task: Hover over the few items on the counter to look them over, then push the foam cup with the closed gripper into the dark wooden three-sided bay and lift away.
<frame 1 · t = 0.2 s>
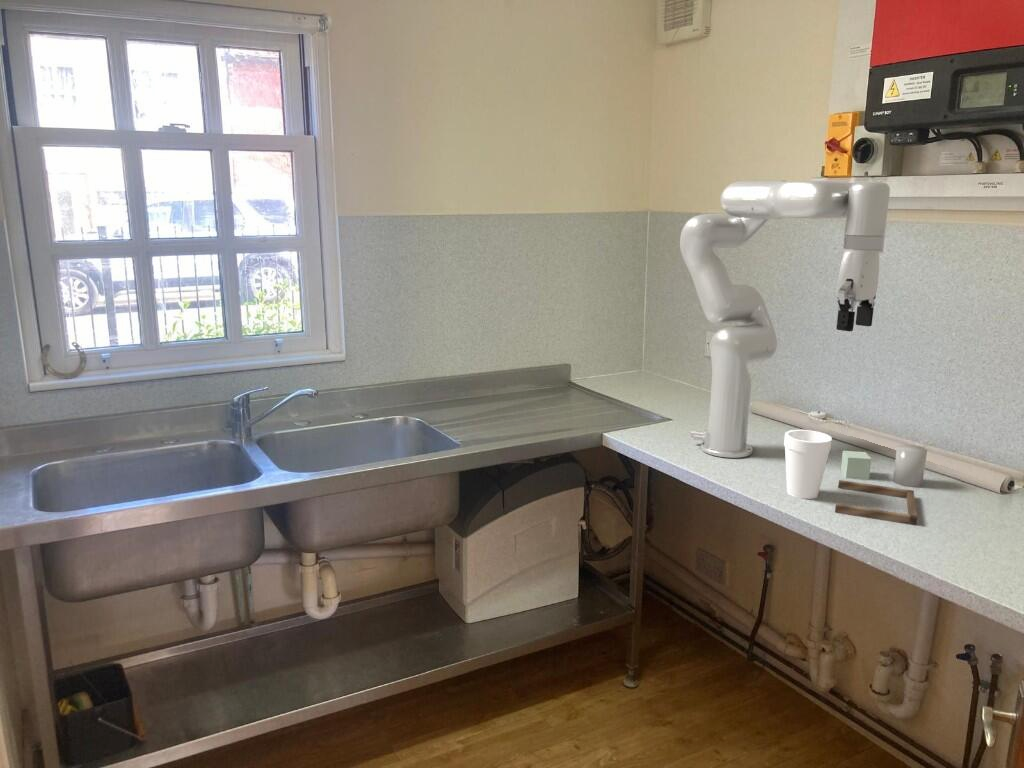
hand: (854, 328, 162), 36 cm above the worktop, tool pointing down, fingers open, 9 cm apart
foam cup: (802, 494, 169), on the worktop
dark wooden bay: (873, 504, 163), on the worktop
sage painted block: (854, 475, 181), on the worktop
grey ceramic jar: (907, 482, 176), on the worktop
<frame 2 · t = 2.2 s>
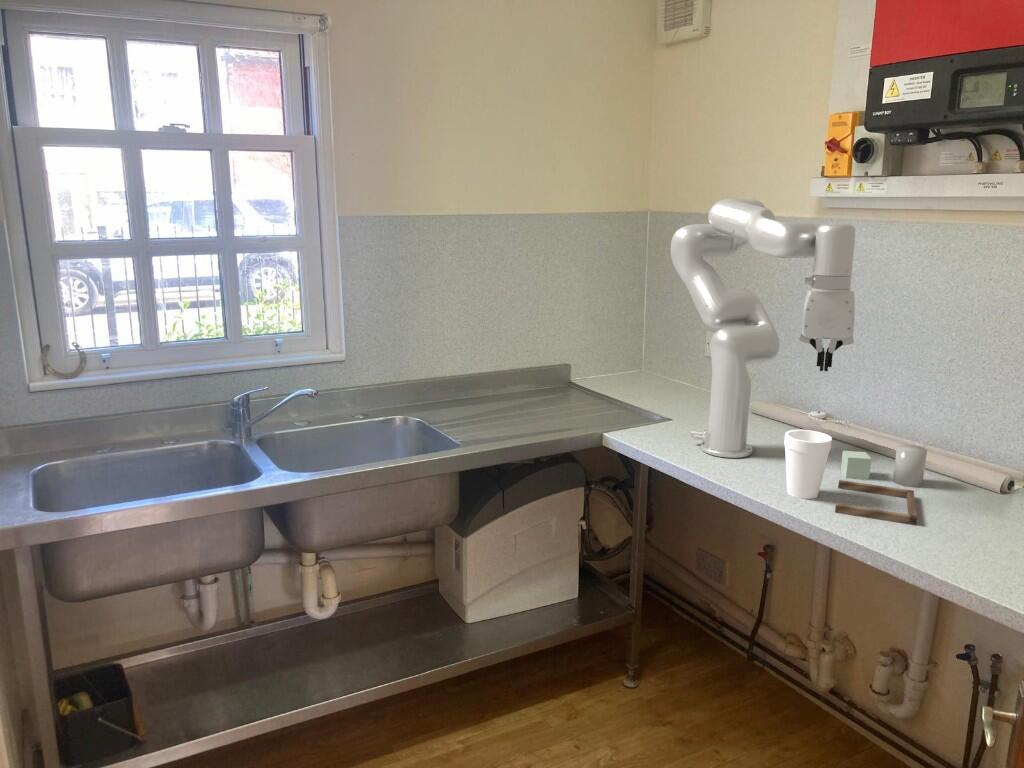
hand: (823, 370, 167), 26 cm above the worktop, tool pointing down, fingers closed
nothing on the worktop moved.
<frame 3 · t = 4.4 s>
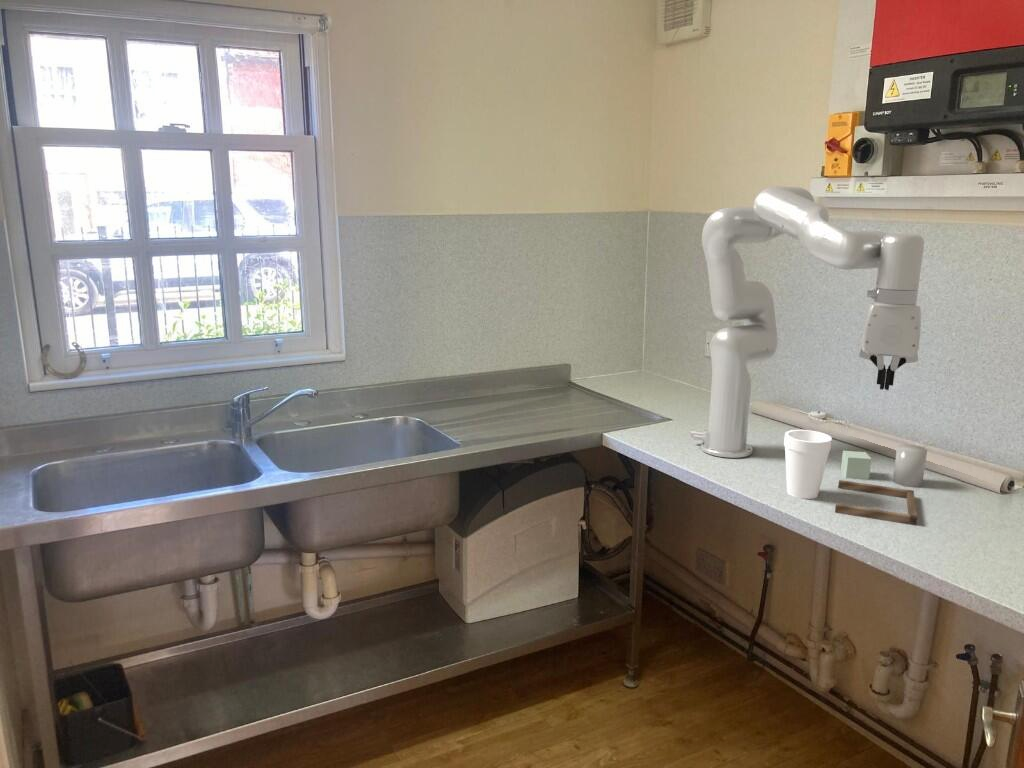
hand: (884, 388, 158), 25 cm above the worktop, tool pointing down, fingers closed
nothing on the worktop moved.
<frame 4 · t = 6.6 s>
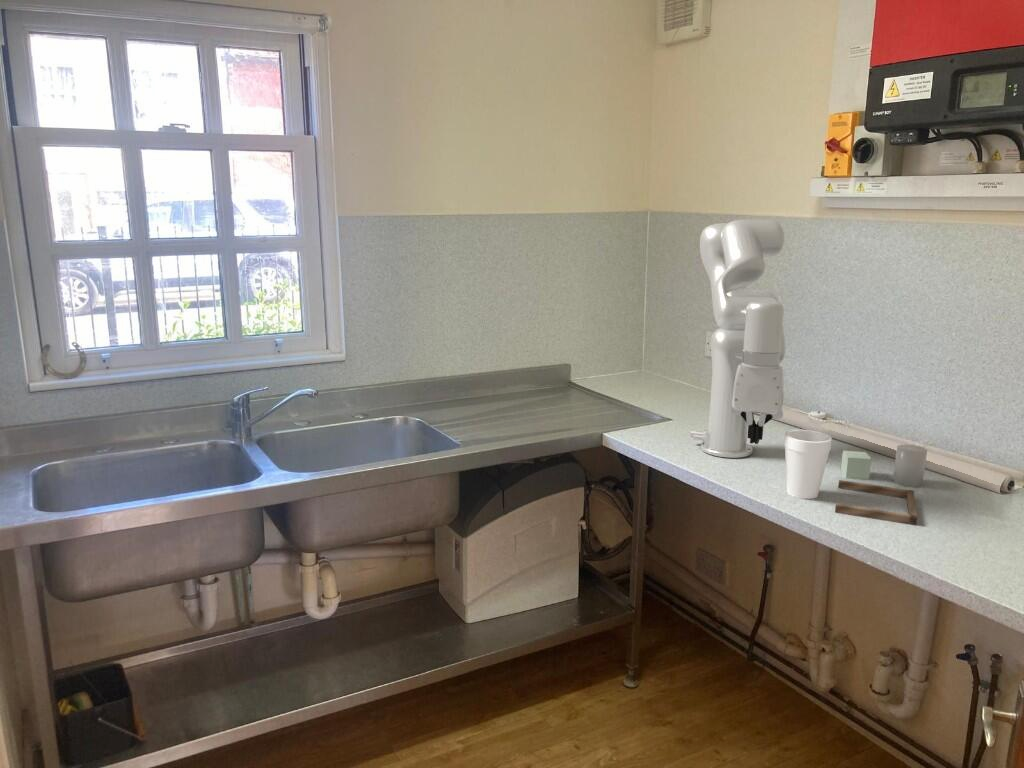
hand: (754, 442, 170), 10 cm above the worktop, tool pointing down, fingers closed
nothing on the worktop moved.
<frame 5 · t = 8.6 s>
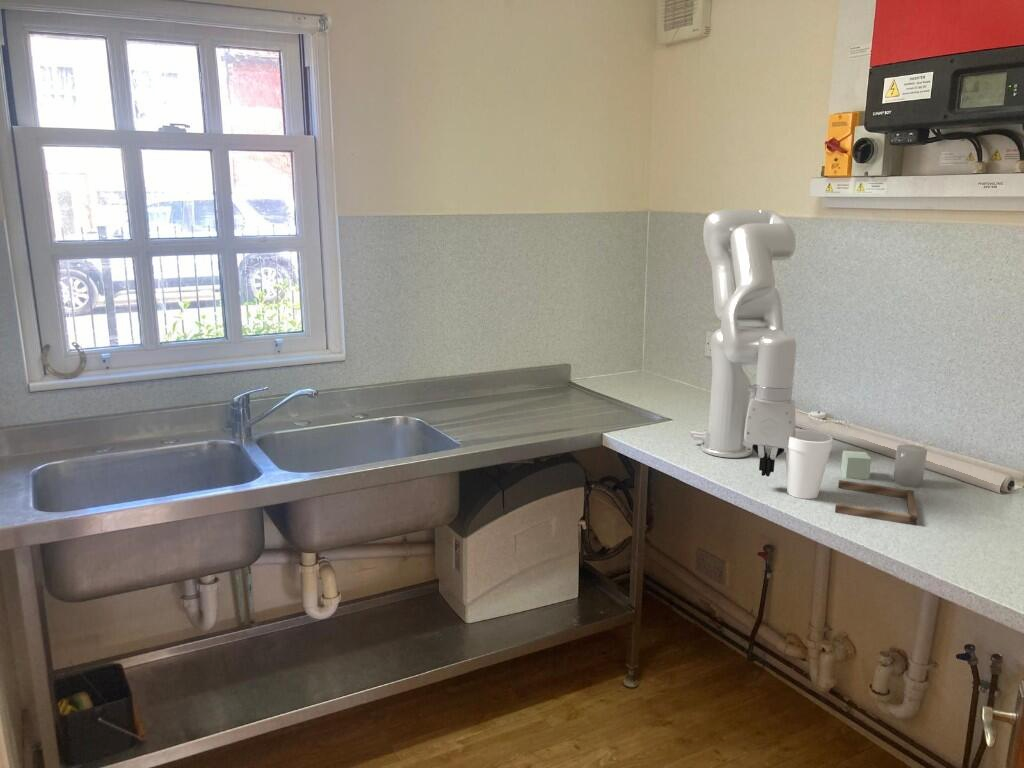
hand: (766, 474, 171), 3 cm above the worktop, tool pointing down, fingers closed
foam cup: (802, 494, 169), on the worktop, touching gripper
everything else where it was.
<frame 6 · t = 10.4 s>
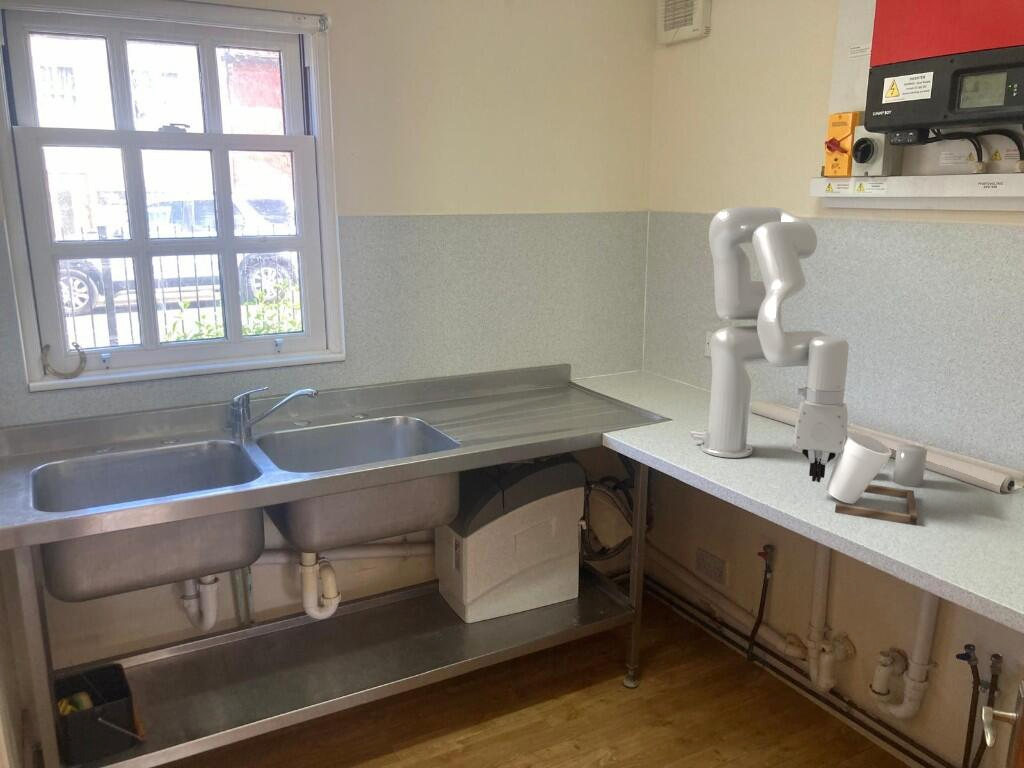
hand: (816, 479, 166), 4 cm above the worktop, tool pointing down, fingers closed
foam cup: (840, 495, 165), point 1 cm above the worktop, touching gripper
everything else where it was.
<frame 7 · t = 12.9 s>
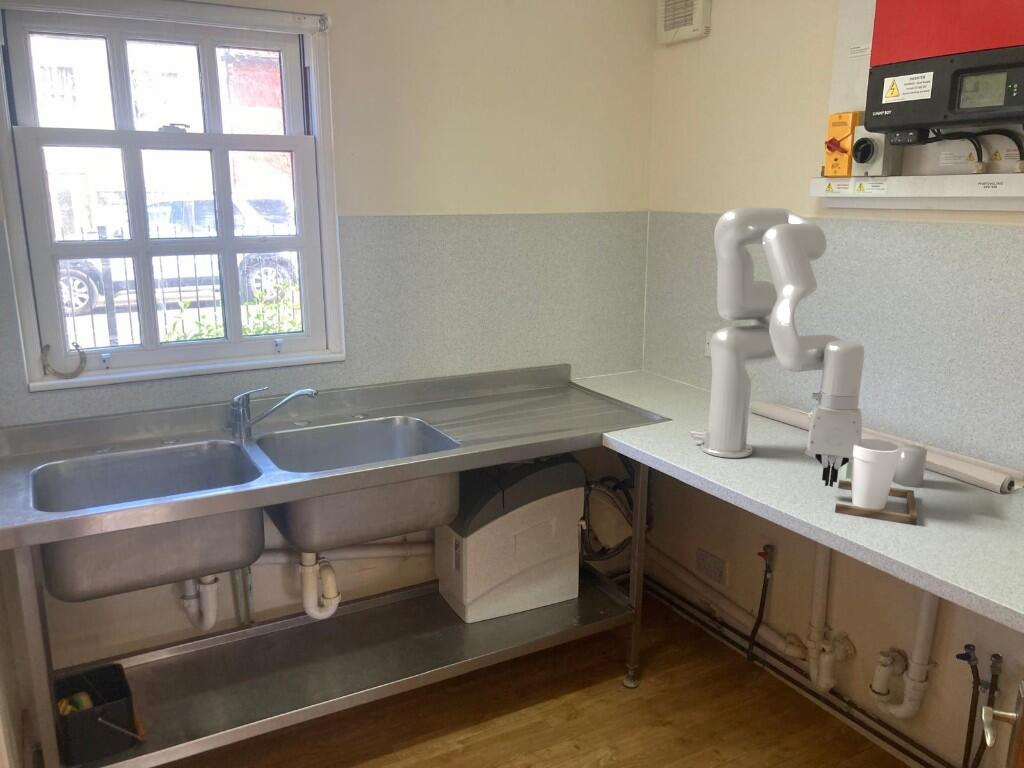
hand: (829, 484, 166), 3 cm above the worktop, tool pointing down, fingers closed
foam cup: (868, 504, 163), on the worktop, touching gripper
everything else where it was.
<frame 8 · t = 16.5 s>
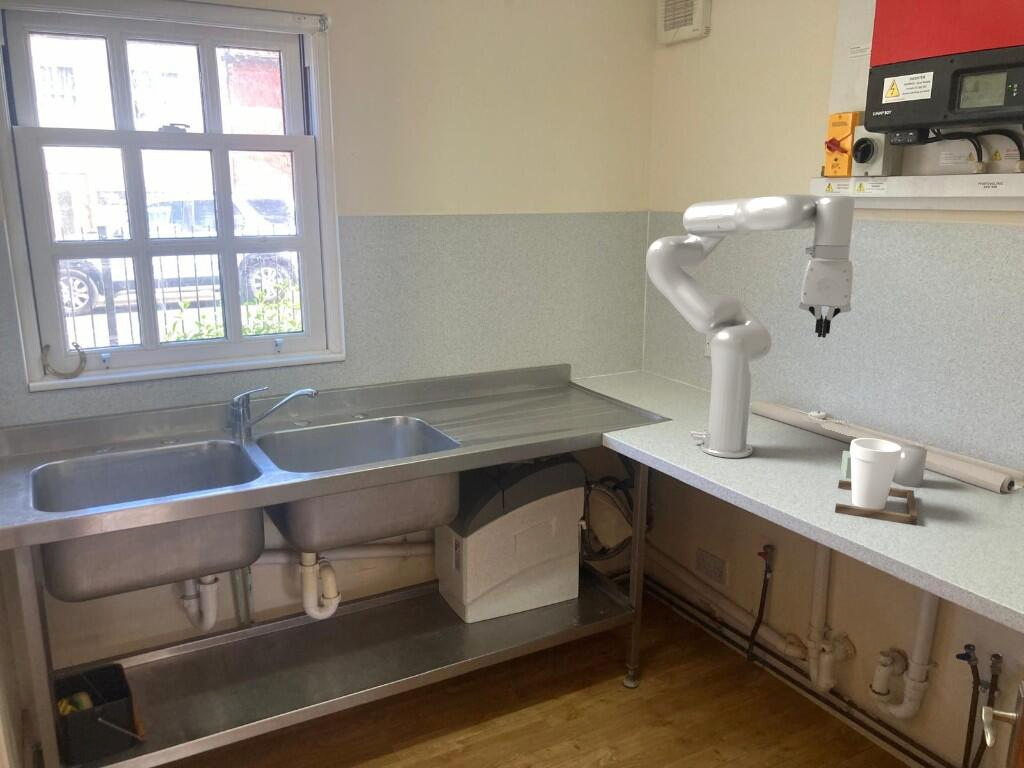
hand: (821, 336, 175), 32 cm above the worktop, tool pointing down, fingers closed
foam cup: (868, 505, 163), on the worktop
everything else where it was.
at the end: foam cup inside the target area (1.5 cm from its centre), on the worktop; foam cup tilted 0°; foam cup moved 13.1 cm from its start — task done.
